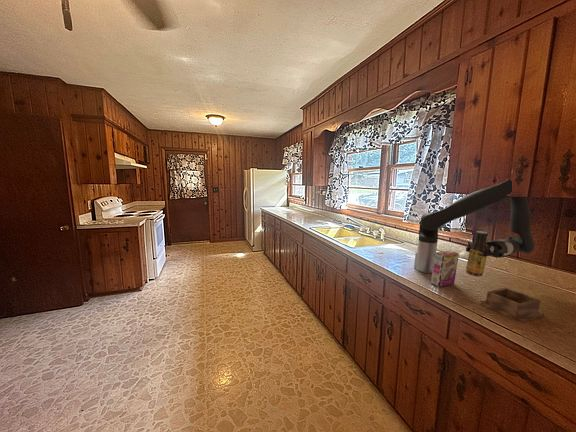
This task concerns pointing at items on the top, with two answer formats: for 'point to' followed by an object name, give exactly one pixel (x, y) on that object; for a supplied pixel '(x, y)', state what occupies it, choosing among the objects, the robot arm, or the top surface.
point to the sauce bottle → (477, 255)
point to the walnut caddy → (513, 304)
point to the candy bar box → (444, 268)
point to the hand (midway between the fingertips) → (475, 251)
